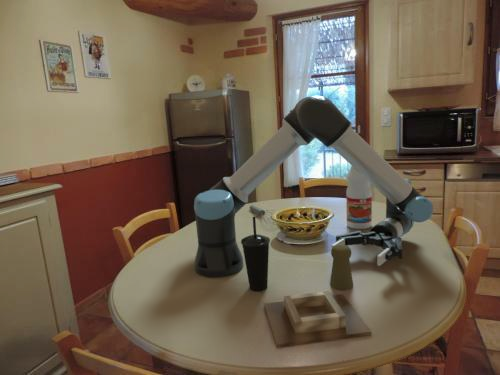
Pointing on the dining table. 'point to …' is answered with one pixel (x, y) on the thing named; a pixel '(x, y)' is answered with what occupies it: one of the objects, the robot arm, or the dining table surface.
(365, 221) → the fruit juice
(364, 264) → the dining table surface
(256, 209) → the kitchen whisk
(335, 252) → the olive green peg doll
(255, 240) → the drinking cup
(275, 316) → the well board
